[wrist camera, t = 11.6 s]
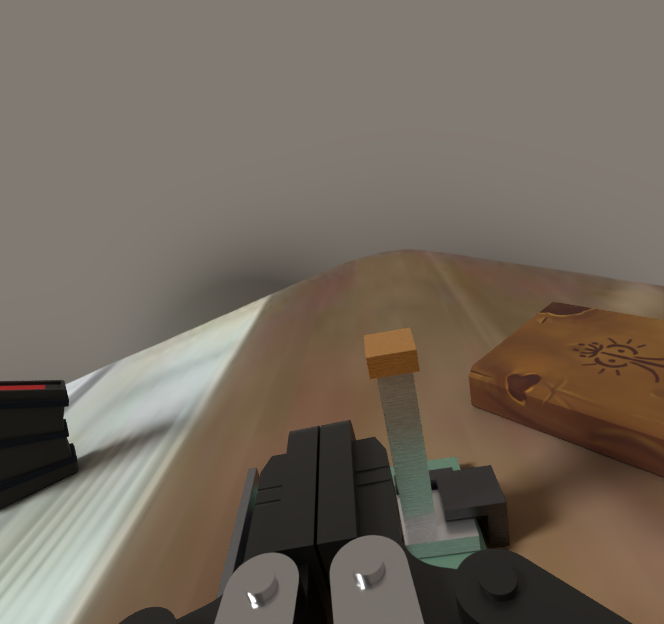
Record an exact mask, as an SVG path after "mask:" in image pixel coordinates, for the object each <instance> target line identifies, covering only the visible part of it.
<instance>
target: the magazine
mask: <svg viewBox="0 0 664 624" xmlns="http://www.w3.org/2000/svg"><path fill="white" fill-rule="evenodd" d="M68 405H69V399H68V394H67V390H66V386H65V383H64V381H62V380H46V381H0V509H1V508H3V507H5V506H7V505H9V504H12V503H14V502H16V501H18V500H20V499H22V498H24V497H26V496H28V495H30V494H32V493H34V492H36V491H38V490H40V489H42V488H45V487H47V486H49V485H51V484H53V483H55V482H57V481H59V480H61V479H63V478H65V477H67V476H69V475H71V474H73V473H75V472H77V471H78V464H77V461H78V460H77V456H76V451H75V447H74V445H73V443H71V444H69V442H68V439H67V437H69V432H68V428H67V423H66V419H63V416H64V407H65V406H68Z"/></svg>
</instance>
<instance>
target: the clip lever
mask: <svg viewBox="0 0 664 624" xmlns="http://www.w3.org/2000/svg"><path fill="white" fill-rule="evenodd" d="M364 342H365V352H366V360H367V365H368V370H369V375H370V379H375V378H377V383H378V388H379V393H380V398H381V404H382V409H383V414H384V419H385V425H386V430H387V435H388V440H389V445H390V451H391V456H392V461H393V466H394V471H395V477H396V482H397V487H398V492H399V495H396V496H397V501H398V506H399V512H400V518H401V523H402V529H403V535H404V540H405V546H406V548H407V550H408V551H409V552H410V553H411V554H412V555H413V556H415V557H416V558H425V557H432V556H440V555H448V554H455V553H463V552H471V551H478V550H480V541H479V534H478V531H477V528H476V525H475V522H474V519H473V517H468V518H460V519H453V520H445V516H444V512H443V508H442V504H441V500H440V496H439V492H438V490H431V483H430V477H429V470H428V464H427V458H426V451H425V445H424V439H423V432H422V426H421V419H420V413H419V407H418V400H417V394H416V388H415V381H414V375H413V372H417V371H420V370H419V363H418V357H417V350H416V346H415V343H414V340H413V337H412V334H411V330H410V328H404V329H399V330H393V331H387V332H381V333H376V334H370V335H364Z"/></svg>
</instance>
